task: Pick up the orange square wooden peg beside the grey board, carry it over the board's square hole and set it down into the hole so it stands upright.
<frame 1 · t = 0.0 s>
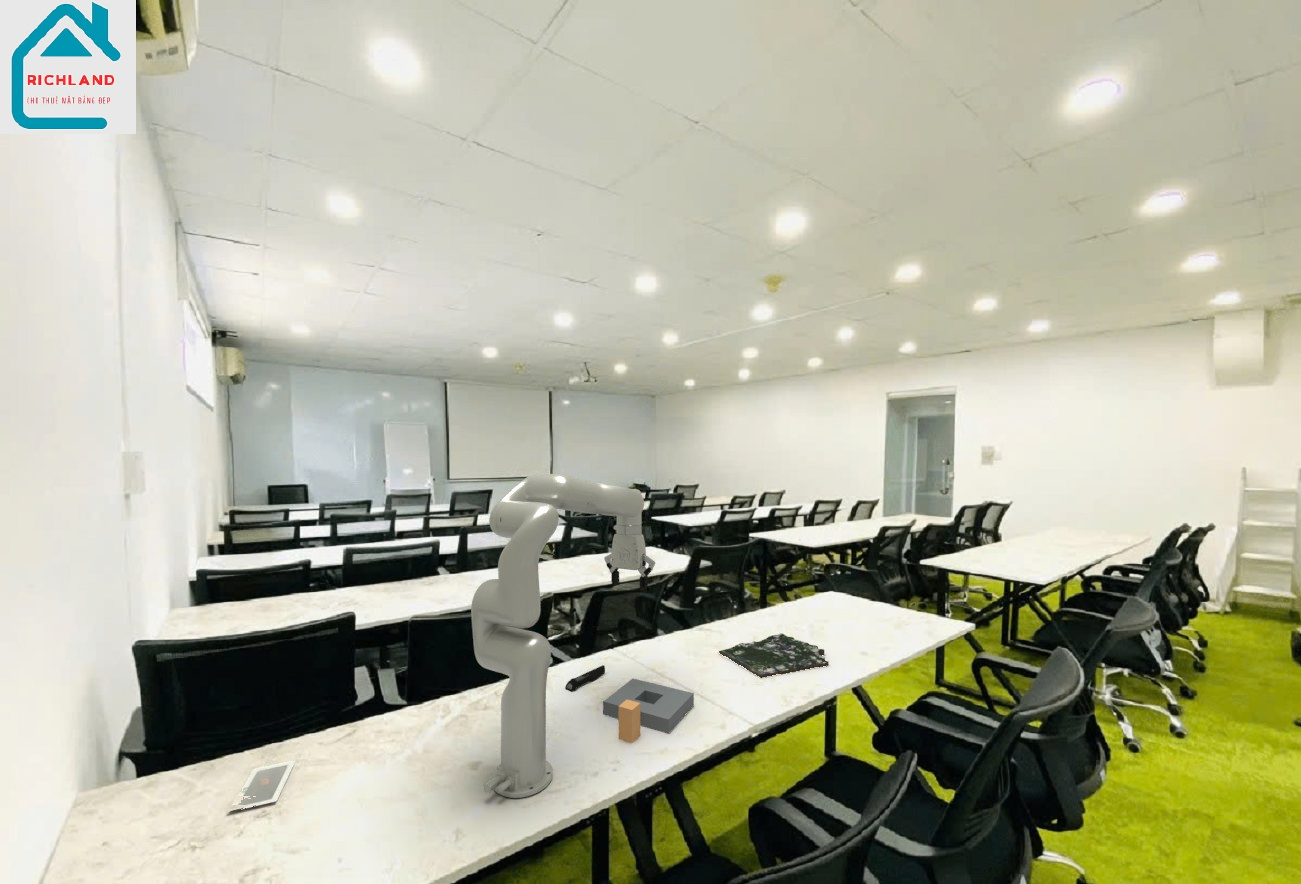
hand: (629, 587, 147), 31 cm above the table, tool pointing down, fingers open, 9 cm apart
electric trimmer: (585, 683, 154), on the table
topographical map: (779, 660, 172), on the table
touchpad: (264, 790, 104), on the table
socket board: (649, 710, 136), on the table
peg: (629, 737, 123), on the table
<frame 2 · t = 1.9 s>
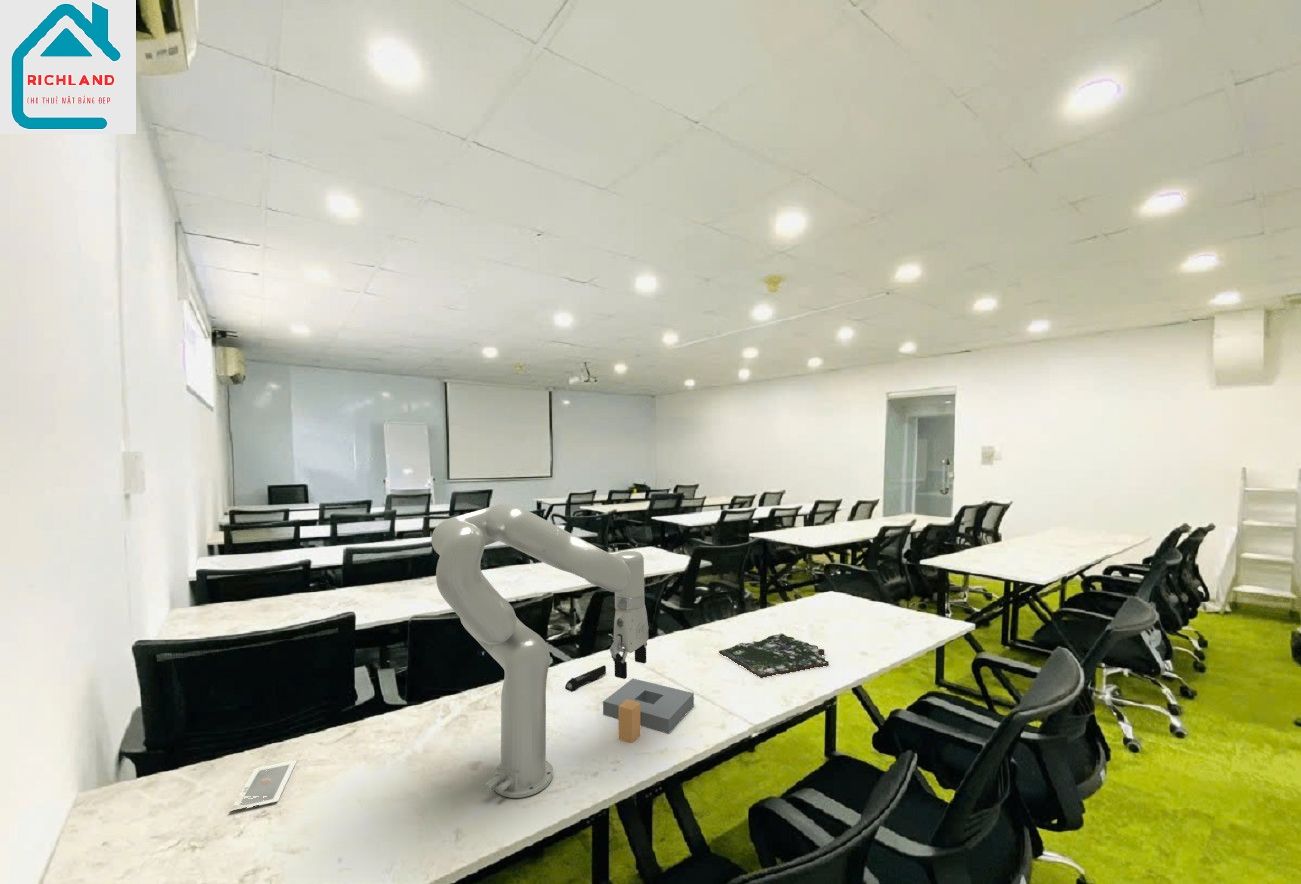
hand: (631, 669, 124), 16 cm above the table, tool pointing down, fingers open, 9 cm apart
nothing on the table moved.
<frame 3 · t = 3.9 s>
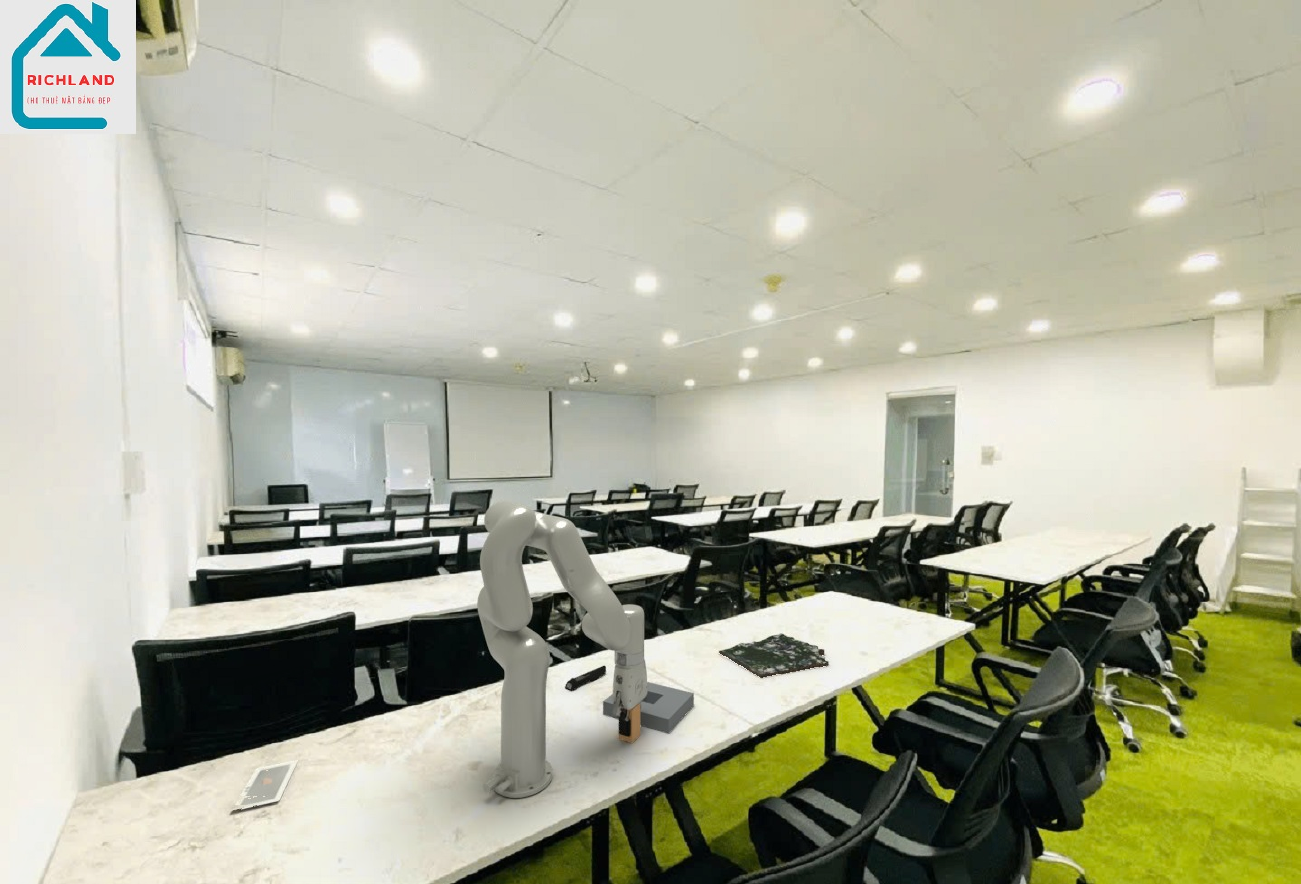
hand: (629, 729, 123), 2 cm above the table, tool pointing down, fingers closed on peg, 4 cm apart
peg: (629, 737, 123), on the table, touching gripper
everything else where it was.
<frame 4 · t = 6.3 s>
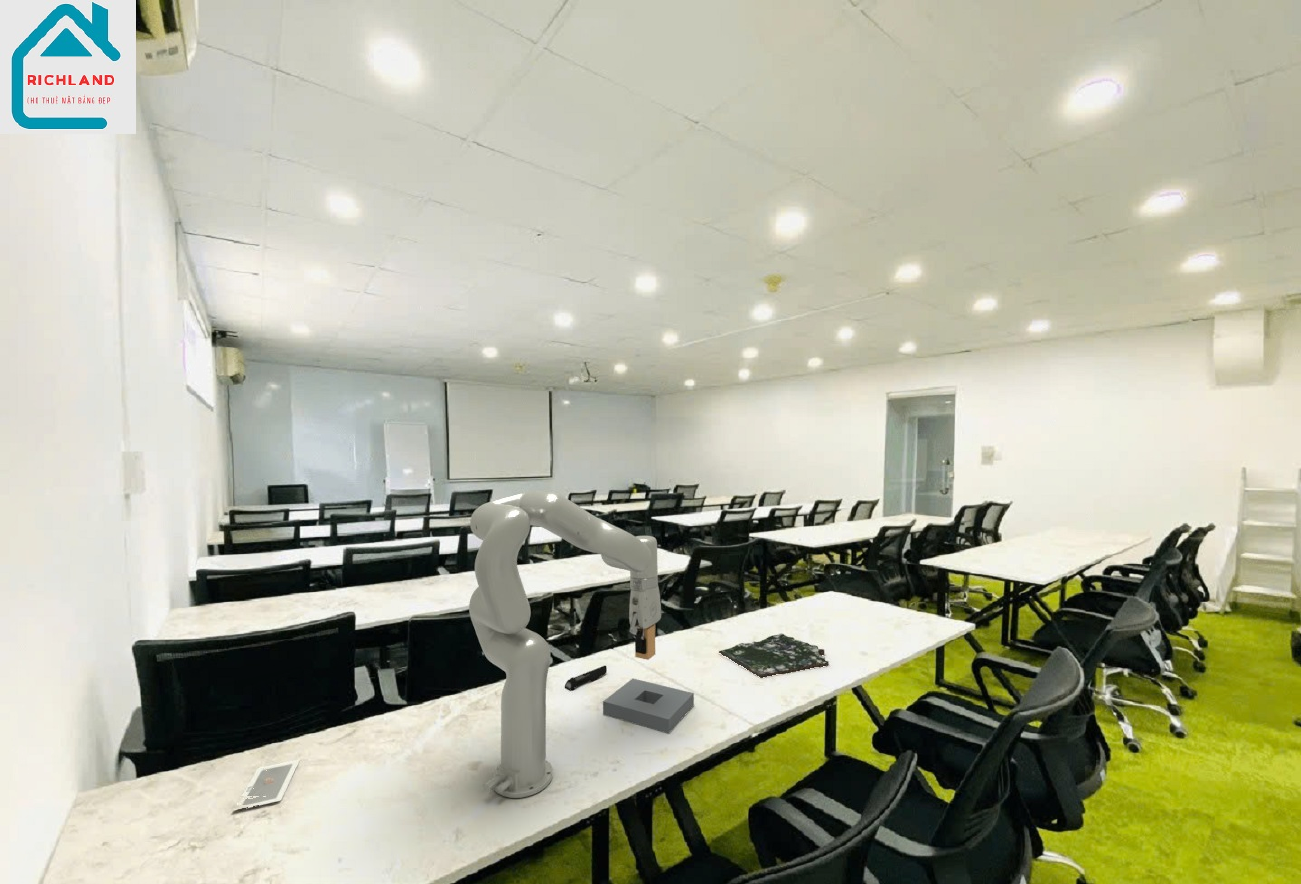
hand: (645, 649, 134), 18 cm above the table, tool pointing down, fingers closed on peg, 4 cm apart
peg: (645, 655, 133), point 16 cm above the table, touching gripper
everything else where it was.
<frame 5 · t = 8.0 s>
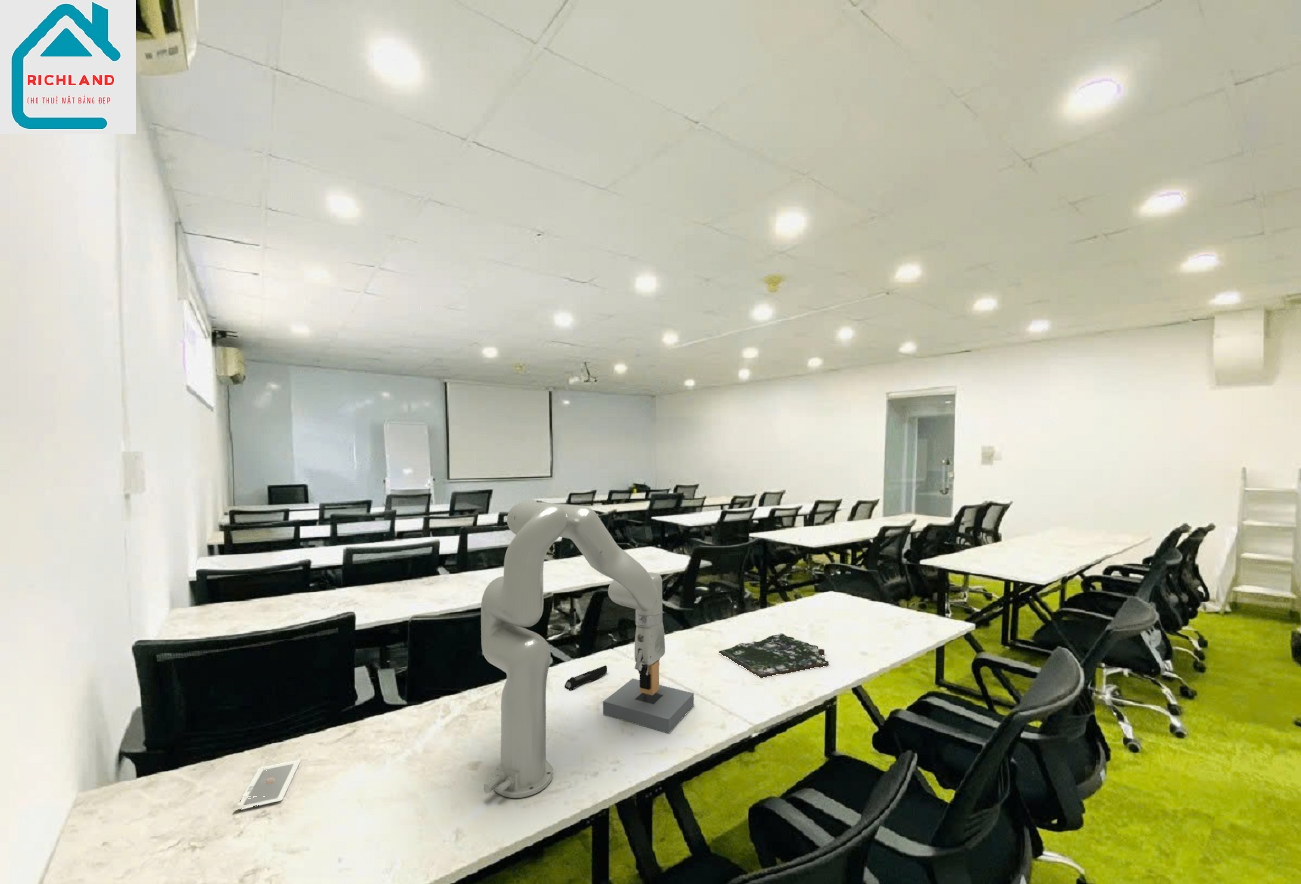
hand: (649, 684, 137), 7 cm above the table, tool pointing down, fingers closed on peg, 4 cm apart
peg: (649, 690, 137), point 5 cm above the table, touching gripper
everything else where it was.
when the fingers open (4 cm above the table, at t = 8.8 s): peg drops 3 cm, resting in socket board.
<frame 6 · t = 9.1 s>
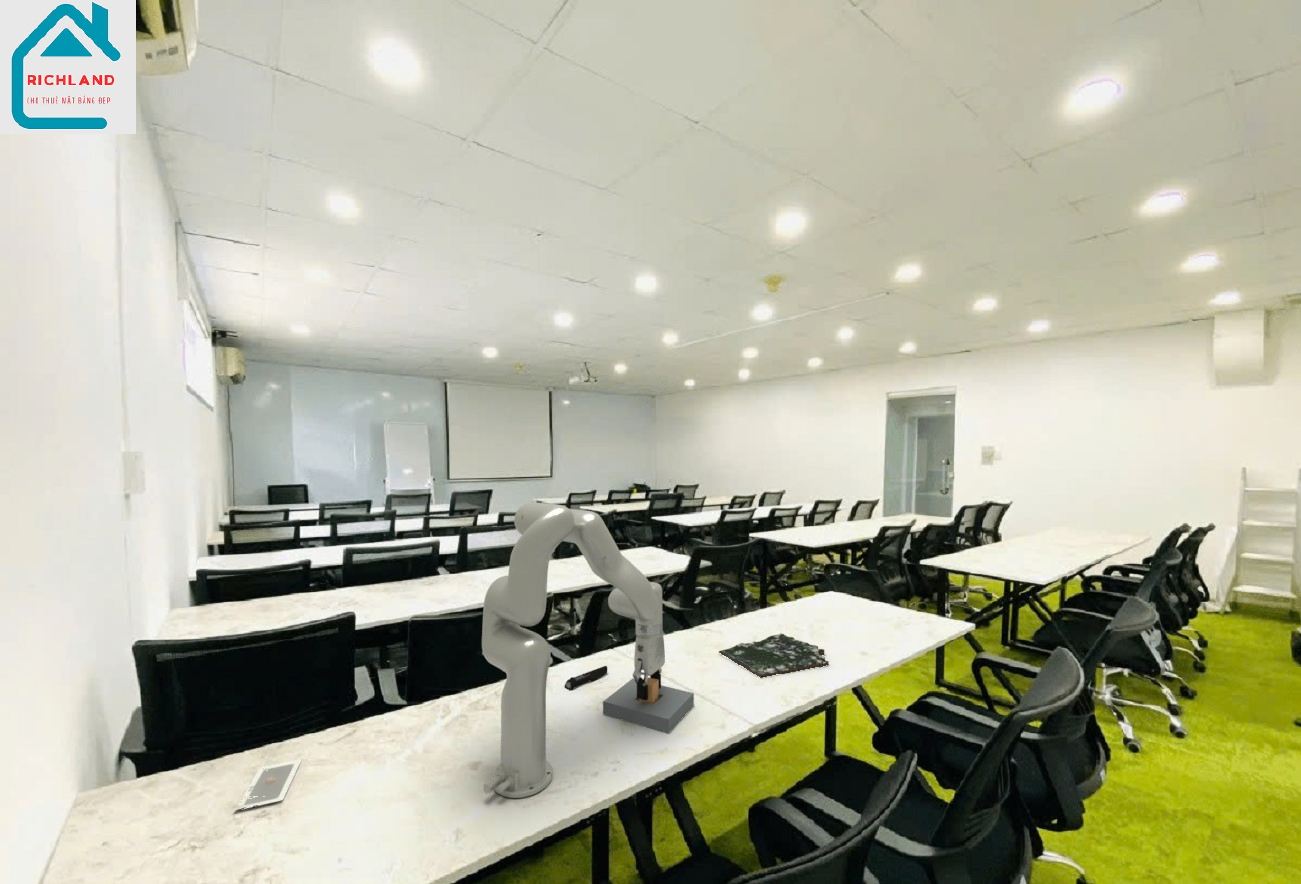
hand: (649, 692, 136), 5 cm above the table, tool pointing down, fingers open, 7 cm apart
peg: (649, 710, 136), resting in socket board
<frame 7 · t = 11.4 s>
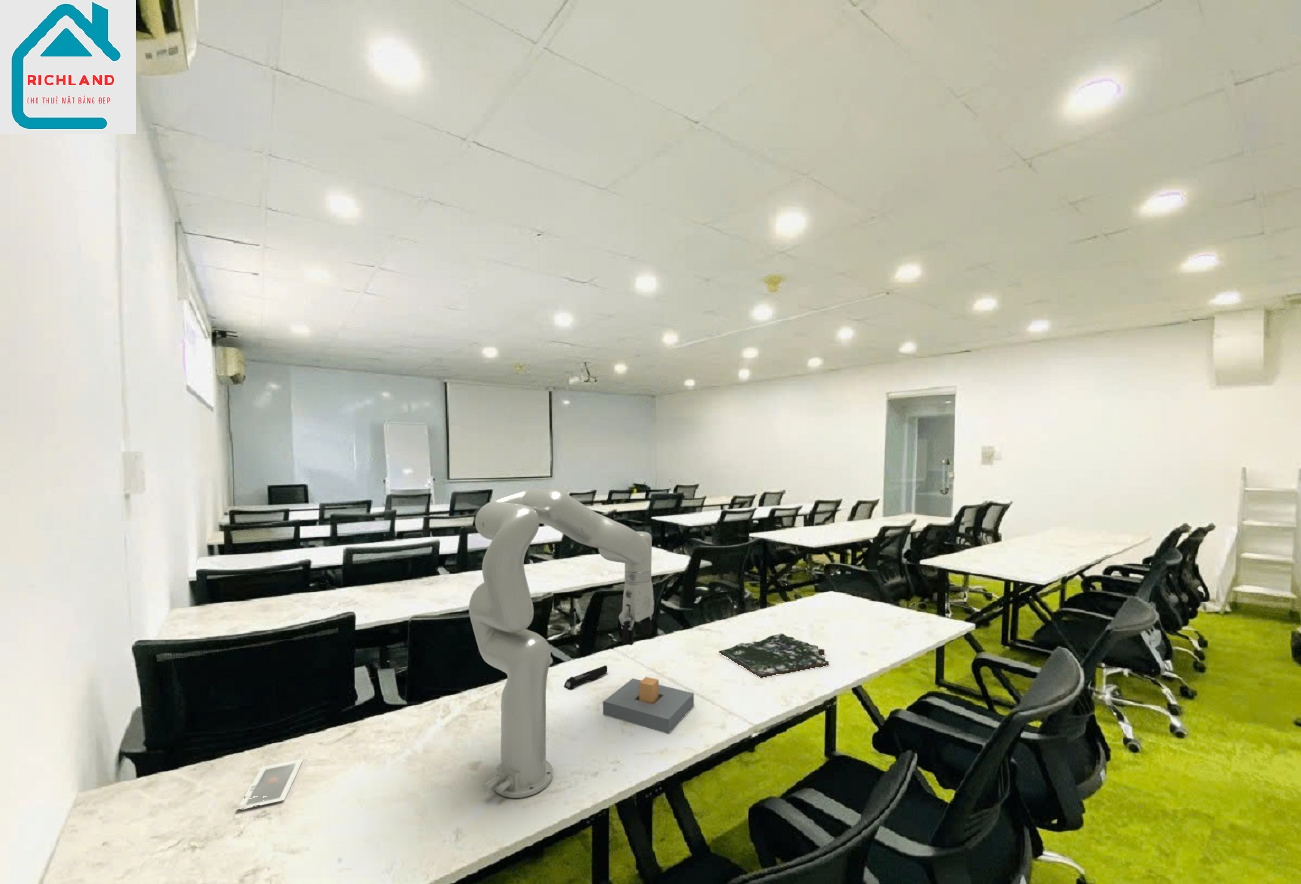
hand: (637, 638, 137), 20 cm above the table, tool pointing down, fingers open, 9 cm apart
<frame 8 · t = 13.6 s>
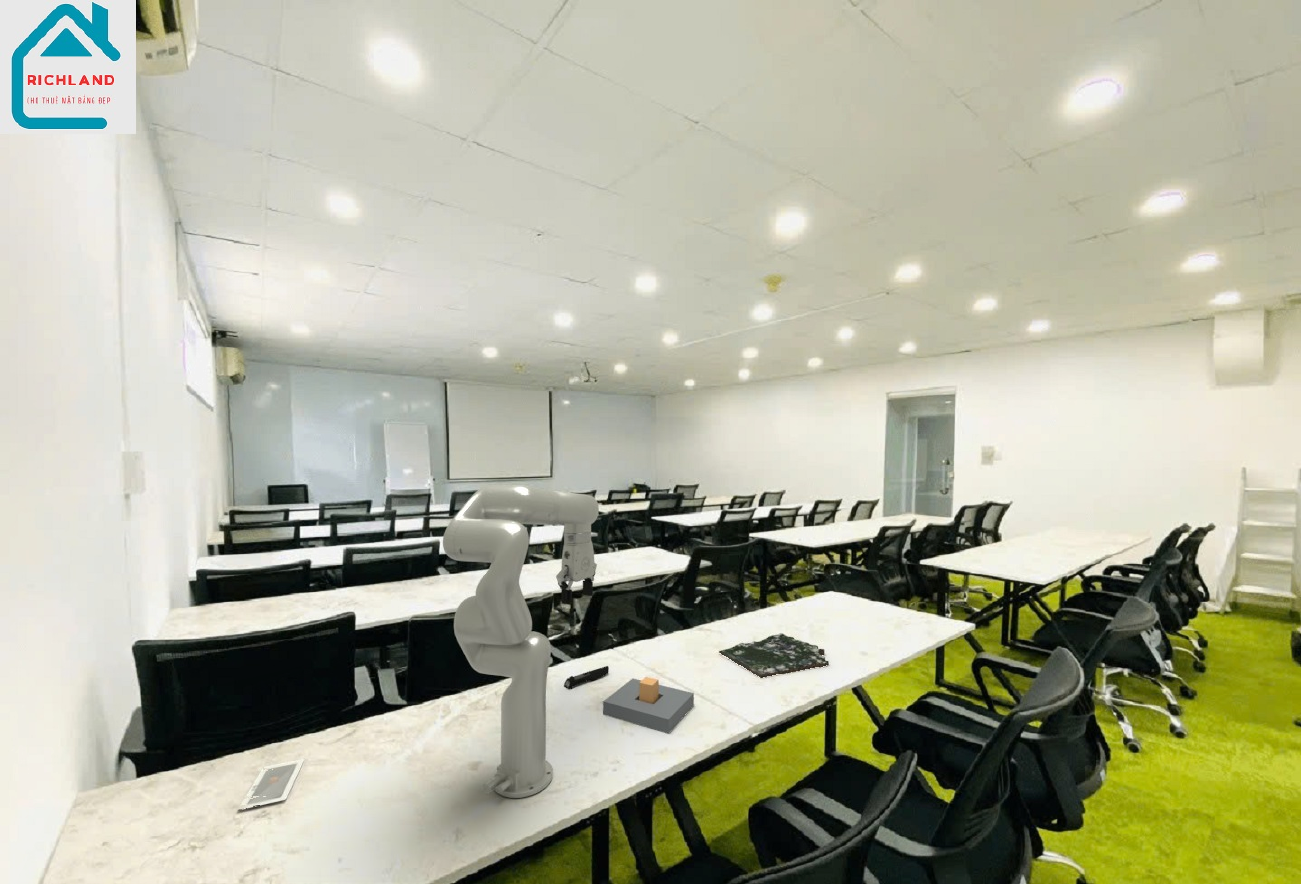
hand: (577, 599, 138), 30 cm above the table, tool pointing down, fingers open, 9 cm apart
at the end: peg 0.2 cm off-centre on the socket board, point 0.0 cm above the socket board's base; peg tilted 0°; the gripper is holding nothing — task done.
